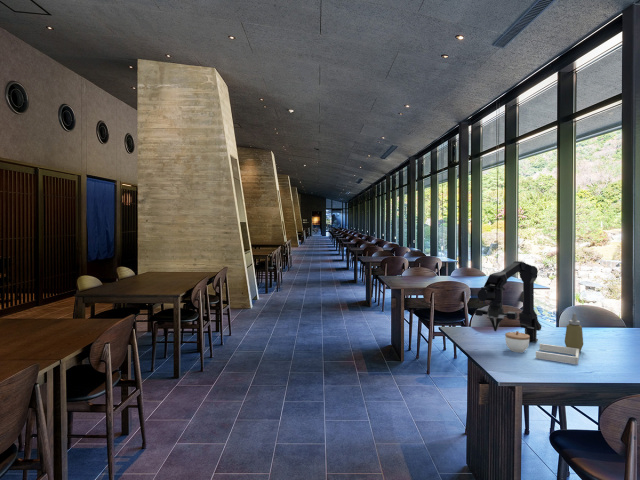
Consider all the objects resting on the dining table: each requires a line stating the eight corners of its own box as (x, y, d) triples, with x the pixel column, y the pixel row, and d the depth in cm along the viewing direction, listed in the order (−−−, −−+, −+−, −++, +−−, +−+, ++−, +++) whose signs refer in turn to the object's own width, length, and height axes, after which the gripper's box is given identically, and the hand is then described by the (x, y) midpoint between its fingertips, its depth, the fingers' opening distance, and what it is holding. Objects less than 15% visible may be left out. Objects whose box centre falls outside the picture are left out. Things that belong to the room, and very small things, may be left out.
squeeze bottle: (581, 348, 213) (582, 312, 213) (585, 353, 206) (586, 315, 205) (562, 347, 216) (563, 311, 215) (566, 351, 208) (567, 314, 208)
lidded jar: (527, 355, 201) (528, 335, 201) (503, 351, 207) (503, 332, 207) (530, 349, 210) (531, 330, 210) (506, 346, 216) (507, 327, 216)
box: (539, 349, 211) (539, 343, 211) (579, 355, 202) (579, 348, 202) (535, 358, 197) (535, 351, 197) (577, 364, 188) (577, 357, 188)
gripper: (472, 300, 212) (472, 331, 212) (513, 304, 202) (513, 337, 202) (477, 297, 221) (477, 327, 222) (517, 300, 211) (517, 332, 212)
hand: (495, 331), depth 214 cm, fingers closed
